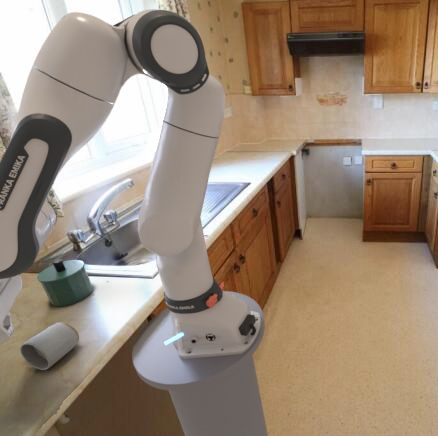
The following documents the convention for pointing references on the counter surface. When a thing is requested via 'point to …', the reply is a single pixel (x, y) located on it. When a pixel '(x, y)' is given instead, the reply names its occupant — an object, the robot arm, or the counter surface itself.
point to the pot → (69, 289)
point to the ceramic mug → (49, 345)
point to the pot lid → (60, 270)
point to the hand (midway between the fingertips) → (7, 336)
